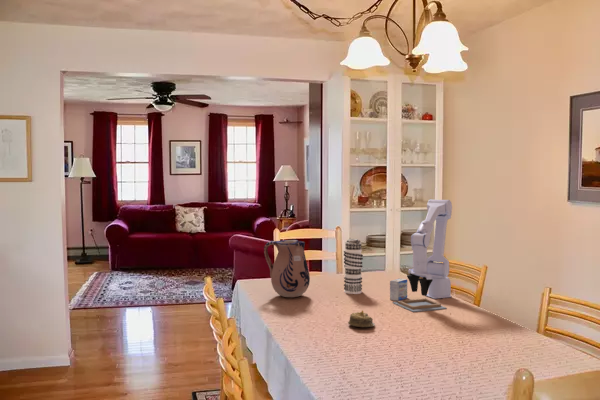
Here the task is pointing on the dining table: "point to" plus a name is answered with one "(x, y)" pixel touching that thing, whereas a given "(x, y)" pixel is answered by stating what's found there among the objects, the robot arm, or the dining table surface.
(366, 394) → the dining table surface
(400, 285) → the medicine box
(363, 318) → the cake
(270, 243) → the ceramic pitcher
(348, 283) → the decorative candle
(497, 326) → the dining table surface
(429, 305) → the board
